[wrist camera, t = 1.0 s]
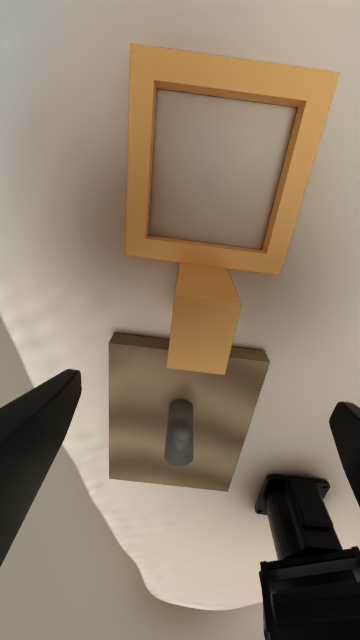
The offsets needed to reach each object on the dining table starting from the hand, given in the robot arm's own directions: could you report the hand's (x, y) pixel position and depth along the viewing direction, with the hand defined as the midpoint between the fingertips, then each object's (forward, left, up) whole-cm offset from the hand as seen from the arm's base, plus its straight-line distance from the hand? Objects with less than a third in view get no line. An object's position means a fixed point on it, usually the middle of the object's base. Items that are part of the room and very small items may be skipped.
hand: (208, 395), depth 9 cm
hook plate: (-12, 0, -11) cm, 17 cm away
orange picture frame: (+5, 0, -11) cm, 12 cm away
